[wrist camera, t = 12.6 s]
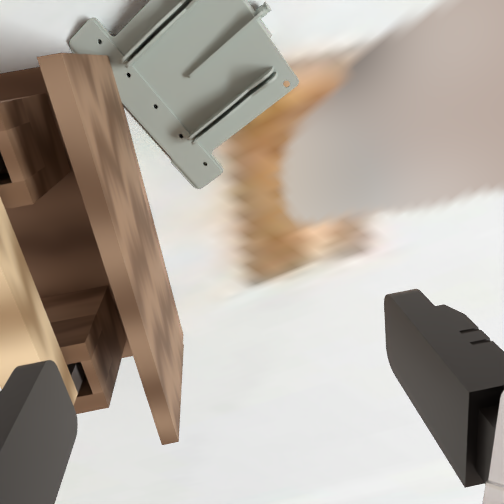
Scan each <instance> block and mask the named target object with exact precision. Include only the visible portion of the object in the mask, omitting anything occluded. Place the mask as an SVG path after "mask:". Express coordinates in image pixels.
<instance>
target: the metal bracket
mask: <svg viewBox="0 0 504 504" xmlns="http://www.w3.org/2000/svg"><path fill="white" fill-rule="evenodd" d="M270 11H271V9H270V7H269V6H268V4H267V3H266V2H264V4H263V5H261V6H260V7H259V8H258V9H257V10H256V11H255V10H254V9H253V7H252V6H251V5H250V4H249V2H248V0H150V1H149V2H148V3H147V4H146V5H145V6H144V7H143V8H142V9H141V10H140V11H139V12H138V13H137V14H136V15H135V16H134V18H133V19H132V20H131V21H130V22H129V23H128V24H127V25H126V26H125V27H124V28H123V29H122V30H121V31H120V32H119V33H118V34H117V35H116V36H112V35H110V34H109V32H108V31H107V30H106V29H105V28H104V27H103V25H102V24H101V23H100V22H99V21H98V19H96V18H91V19H89V20H88V21H87V22H86V23H85V24H84V25H83V26H82V27H81V28H80V30H79V31H78V32H77V33H76V34H75V35H74V36H73V37H72V38H71V40H70V42H69V46H70V49H71V51H72V53H73V54H90V55H107V56H108V57H109V60H110V63H111V67H112V70H113V74H114V77H115V81H116V84H117V88H118V91H119V95H120V98H121V102H122V104H123V105H124V106H125V107H126V108H127V109H128V110H129V112H130V113H131V114H132V115H133V116H134V117H135V118H136V119H137V120H138V122H139V123H140V124H141V125H142V126H143V127H144V128H145V129H146V131H147V132H148V133H149V134H150V135H151V136H152V137H153V138H154V139H155V141H156V142H157V143H158V144H159V145H160V146H161V147H162V148H163V150H164V151H165V152H166V153H167V154H168V155H169V156H170V157H171V159H172V162H171V163H172V164H173V165H174V166H175V167H176V168H177V170H178V171H179V172H180V173H181V174H182V175H183V176H184V177H185V178H186V180H187V181H188V182H189V183H190V184H191V185H192V186H193V187H195V188H197V189H201V188H203V187H204V186H206V185H207V184H208V183H210V182H211V181H212V180H214V179H215V178H217V177H218V176H219V175H220V174H221V173H222V172H223V167H222V166H221V165H220V163H219V162H218V161H217V160H216V159H215V158H214V156H213V155H212V151H213V150H214V149H215V148H217V147H218V146H219V145H221V144H222V143H223V142H225V141H226V140H227V139H228V138H230V137H231V136H232V135H234V134H235V133H236V132H238V131H239V130H240V129H241V128H243V127H244V126H245V125H247V124H248V123H249V122H251V121H252V120H253V119H254V118H256V117H257V116H258V115H260V114H261V113H262V112H264V111H265V110H266V109H267V108H269V107H270V106H271V105H273V104H274V103H275V102H277V101H278V100H279V99H281V98H282V97H283V96H284V95H286V94H287V93H288V92H290V91H291V90H292V89H294V88H295V87H296V86H297V85H298V83H299V80H298V78H297V76H296V75H295V74H294V72H293V71H292V69H291V68H290V66H289V65H288V64H287V62H286V61H285V59H284V58H283V57H282V55H281V54H280V52H279V51H278V49H277V48H276V47H275V45H274V44H273V42H272V41H271V39H270V38H271V36H272V34H271V33H270V31H269V30H268V29H267V28H266V27H265V24H264V23H263V21H262V20H261V18H262V17H264V16H265V15H266V14H267V13H268V12H270ZM98 39H100V40H101V41H102V44H99V43H98ZM127 73H130V75H131V77H128V76H127ZM284 81H289V82H290V86H289V87H284V85H283V82H284ZM154 104H156V105H157V106H158V108H154ZM179 134H182V135H183V138H181V137H180V136H179ZM203 162H206V163H207V165H204V164H203Z"/></svg>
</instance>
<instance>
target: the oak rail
mask: <svg viewBox="0 0 504 504" xmlns="http://www.w3.org/2000/svg"><path fill="white" fill-rule="evenodd" d="M5 168H6V165H5V162H4V160H3V157H2V155H1V152H0V171H1V170H3V169H5ZM47 360H52V361H54V362H55V364H56V365H57V367H58V369H59V372H60V374H61V377H62V379H63V381H64V384H65V386H66V389H67V391H68V394H69V396H70V398H71V401H72V403H73V406H74V403H75V400H76V397H77V395H78V392H79V389H80V386H81V384H82V381H83V378H84V375H85V372H84V369H83V366H82V364H81V362H77V363H72V364H67V365H66V362H65V359H64V357H63V354H62V352H61V349H60V347H59V344H58V342H57V339H56V337H55V334H54V332H53V329H52V327H51V324H50V321H49V319H48V316H47V314H46V311H45V309H44V306H43V304H42V301H41V299H40V296H39V294H38V291H37V289H36V286H35V284H34V281H33V278H32V276H31V273H30V271H29V268H28V266H27V263H26V261H25V258H24V256H23V253H22V251H21V248H20V246H19V243H18V240H17V238H16V235H15V233H14V230H13V228H12V225H11V223H10V220H9V218H8V215H7V213H6V210H5V208H4V205H3V203H2V200H1V197H0V387H1V389H3V387H4V385H5V384H6V382H7V380H8V379H9V377H10V375H11V374H12V372H13V370H14V369H15V368H16V367H17V366H21V365H26V364H31V363H36V362H41V361H47Z"/></svg>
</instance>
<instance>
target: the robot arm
mask: <svg viewBox="0 0 504 504" xmlns="http://www.w3.org/2000/svg"><path fill="white" fill-rule="evenodd" d="M384 312H385V333H386V350H387V356H388V360H389V363H390V366H391V368H392V371H393V373H394V374H395V376H396V378H397V379H398V381H399V383H400V384H401V386H402V387H403V389H404V391H405V392H406V394H407V395H408V397H409V399H410V400H411V402H412V403H413V405H414V407H415V408H416V410H417V411H418V413H419V415H420V416H421V418H422V419H423V421H424V423H425V424H426V426H427V427H428V429H429V431H430V432H431V434H432V435H433V437H434V439H435V440H436V442H437V443H438V445H439V447H440V448H441V450H442V451H443V453H444V455H445V456H446V458H447V460H448V461H449V463H450V464H451V466H452V468H453V469H454V471H455V472H456V474H457V476H458V477H459V479H460V480H461V482H462V484H463V485H464V487H470V486H474V485H479V484H484V483H485V491H484V497H483V504H504V351H503V350H502V349H500V348H499V347H498V346H497V345H496V344H495V343H494V342H493V341H490V338H489V337H488V336H487V335H486V334H485V333H484V332H483V331H482V330H479V329H478V327H477V326H476V325H475V324H474V323H473V322H472V321H471V320H470V319H469V318H468V317H467V316H466V315H465V314H463V313H461V312H459V311H457V310H455V309H453V308H450V307H448V306H446V305H439V306H434V305H433V304H432V303H431V302H430V300H429V299H428V298H427V297H426V296H425V295H424V294H423V293H422V292H421V291H420V290H418V289H413V290H408V291H403V292H398V293H392V294H387V295H386V296H385V299H384ZM76 435H77V416H76V411H75V408H74V406H73V403H72V401H71V398H70V396H69V394H68V391H67V389H66V386H65V384H64V381H63V379H62V377H61V374H60V372H59V369H58V367H57V365H56V364H55V362H54V361H52V360H47V361H41V362H36V363H31V364H26V365H21V366H17V367H16V368H15V369H14V370H13V372H12V374H11V375H10V377H9V379H8V380H7V382H6V384H5V385H4V387H3V389H2V390H1V391H0V504H54V503H55V500H56V497H57V494H58V491H59V488H60V485H61V482H62V479H63V476H64V473H65V469H66V466H67V463H68V460H69V457H70V454H71V451H72V448H73V445H74V442H75V439H76Z"/></svg>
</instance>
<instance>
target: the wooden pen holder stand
mask: <svg viewBox="0 0 504 504" xmlns="http://www.w3.org/2000/svg"><path fill="white" fill-rule="evenodd" d="M37 59H38V62H39V66H40V67H36V68H31V69H25V70H19V71H13V72H7V73H2V74H0V152H1V155H2V157H3V160H4V162H5V165H6V168H5V169H3V170H1V171H0V197H1V200H2V203H3V205H4V208H5V210H6V213H7V215H8V218H9V220H10V223H11V225H12V228H13V230H14V233H15V235H16V238H17V240H18V243H19V246H20V248H21V251H22V253H23V256H24V258H25V261H26V263H27V266H28V268H29V271H30V273H31V276H32V278H33V281H34V284H35V286H36V289H37V291H38V294H39V296H40V299H41V301H42V304H43V306H44V309H45V311H46V314H47V316H48V319H49V321H50V324H51V327H52V329H53V332H54V334H55V337H56V339H57V342H58V344H59V347H60V349H61V352H62V354H63V357H64V359H65V362H66V365H67V364H72V363H77V362H81V364H82V366H83V369H84V372H85V375H84V378H83V381H82V384H81V386H80V389H79V392H78V395H77V397H76V400H75V403H74V408H75V411H76V414H79V413H84V412H89V411H94V410H99V409H104V408H109V405H110V401H111V397H112V393H113V389H114V385H115V382H116V378H117V374H118V370H119V366H120V362H121V358H124V357H129V356H133V357H134V360H135V363H136V366H137V369H138V372H139V375H140V378H141V381H142V384H143V388H144V391H145V394H146V397H147V400H148V403H149V406H150V409H151V412H152V415H153V419H154V422H155V425H156V428H157V431H158V434H159V437H160V440H161V443H162V445H165V444H170V443H174V442H179V423H180V404H181V385H182V366H183V348H184V345H183V332H182V328H181V324H180V320H179V317H178V313H177V309H176V305H175V301H174V298H173V294H172V290H171V286H170V282H169V278H168V275H167V271H166V267H165V263H164V259H163V256H162V252H161V248H160V244H159V240H158V237H157V233H156V229H155V225H154V221H153V218H152V214H151V210H150V206H149V202H148V199H147V195H146V191H145V187H144V183H143V179H142V176H141V172H140V168H139V164H138V160H137V157H136V153H135V149H134V145H133V141H132V138H131V134H130V130H129V126H128V122H127V119H126V115H125V111H124V107H123V104H122V102H121V98H120V95H119V91H118V88H117V84H116V81H115V77H114V74H113V70H112V67H111V63H110V60H109V57H108V56H107V55H90V54H72V53H58V54H52V55H46V56H40V57H37Z"/></svg>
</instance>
